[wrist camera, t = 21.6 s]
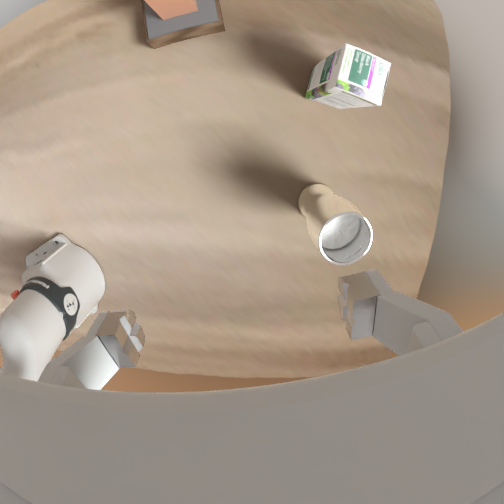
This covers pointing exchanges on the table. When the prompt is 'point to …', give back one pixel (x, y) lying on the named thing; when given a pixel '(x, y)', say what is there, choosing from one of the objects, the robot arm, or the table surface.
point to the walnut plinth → (182, 24)
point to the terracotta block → (172, 7)
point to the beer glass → (335, 225)
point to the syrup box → (349, 79)
